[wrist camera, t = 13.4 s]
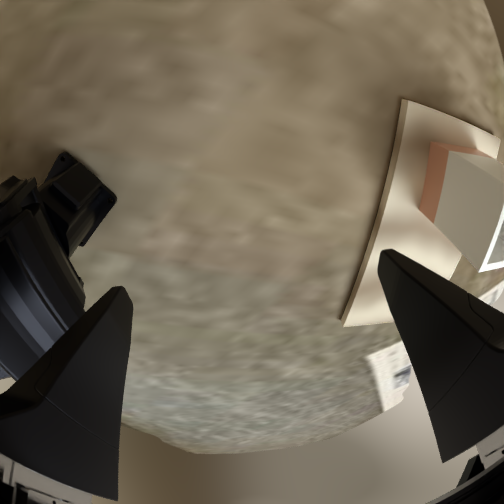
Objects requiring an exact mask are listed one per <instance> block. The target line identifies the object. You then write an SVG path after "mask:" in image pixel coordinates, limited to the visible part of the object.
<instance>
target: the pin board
mask: <svg viewBox="0 0 504 504" xmlns="http://www.w3.org/2000/svg"><path fill="white" fill-rule="evenodd" d="M431 141H432V142H439V143H445V144H451V145H457V146H463V147H468V148H473V149H478V150H480V151H482V152H483V153H485V154H487V155H489V156H491V157H493V158H494V159H496V158H497V154H498V150H499V145H500V141H501V139H499V138H497V137H495V136H493V135H491V134H489V133H487V132H485V131H483V130H481V129H479V128H477V127H475V126H473V125H471V124H469V123H466V122H464V121H462V120H460V119H457V118H455V117H452V116H450V115H448V114H445V113H443V112H440V111H437V110H435V109H432V108H429V107H427V106H424V105H421V104H418V103H415V102H412V101H409V100H405V99H402V101H401V108H400V114H399V120H398V126H397V131H396V137H395V142H394V147H393V152H392V156H391V161H390V165H389V170H388V174H387V178H386V182H385V186H384V190H383V194H382V198H381V202H380V206H379V209H378V213H377V216H376V220H375V223H374V227H373V230H372V233H371V237H370V240H369V243H368V246H367V249H366V252H365V256H364V259H363V262H362V264H361V267H360V270H359V273H358V276H357V279H356V282H355V284H354V287H353V290H352V293H351V295H350V298H349V301H348V303H347V306H346V308H345V311H344V314H343V316H342V319H341V322H342V325H343V327H347V326H359V325H369V324H379V323H388V322H395V321H394V319H393V317H392V315H391V312H390V309H389V307H388V304H387V301H386V297H385V294H384V291H383V288H382V285H381V283H380V280H379V277H378V273H377V268H378V262H379V256H380V252H381V251H382V250H384V249H394V250H396V251H398V252H399V253H401V254H403V255H405V256H407V257H409V258H410V259H412V260H414V261H416V262H418V263H419V264H421V265H423V266H425V267H426V268H428V269H430V270H432V271H433V272H435V273H437V274H439V275H440V276H442V277H444V278H445V279H447V280H450V278H451V276H452V274H453V272H454V270H455V268H456V266H457V264H458V262H459V260H460V258H461V256H462V253H461V252H460V251H459V250H458V249H457V248H456V246H455V245H454V244H453V243H452V242H451V241H450V240H449V239H448V238H447V237H446V236H445V235H444V234H443V233H442V232H441V231H440V230H439V229H438V228H437V227H436V226H435V225H434V224H433V223H432V222H431V221H430V220H429V219H428V218H427V217H426V216H425V215H424V214H423V213H422V212H420V211H419V207H420V202H421V197H422V192H423V187H424V182H425V176H426V170H427V164H428V158H429V151H430V143H431Z"/></svg>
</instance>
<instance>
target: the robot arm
mask: <svg viewBox="0 0 504 504" xmlns="http://www.w3.org/2000/svg"><path fill="white" fill-rule="evenodd" d="M63 156H64V157H65V160H64V159H63ZM36 185H37V182H36V179H35V177H33V178H31V179H28V180H27V179H24V180H19V179H18V178H16V177H15V176H14V175H13V176H12V177H10V178H8V179H7V180H5V181H4V182H2V183H1V184H0V380H1V379H5V378H9V377H12V378H13V379H14V380H15V381H16V382H15V383H14V384H13V385H12V386H11V387H10V388H9V389H8V390H7V391H5V392H4V393H2V394H0V504H91V500H92V495H96V496H99V497H103V498H106V499H110V500H114V501H118V463H119V450H118V449H119V439H120V425H121V414H122V404H123V395H124V386H125V378H126V371H127V364H128V358H129V351H130V344H131V330H132V317H133V304H132V301H131V299H130V297H129V295H128V293H127V291H126V289H125V288H124V287H123V286H115V287H112V288H111V289H110V290H109V291H108V292H107V293H105V294H104V295H103V296H102V297H101V298H100V299H99V300H98V301H97V302H96V303H95V304H94V305H93V306H92V307H91V308H90V309H89V310H87V311H86V312H85V310H84V309H83V308H84V304H85V297H86V296H85V293H84V289H83V285H84V283H83V281H82V279H81V277H79V276H78V275H77V273H76V271H75V269H74V267H73V265H72V264H71V262H70V260H69V259H70V257H71V256H72V254H73V253H74V251H75V250H76V248H77V247H78V246H84V245H85V244H86V242H87V241H88V240H89V238H90V237H91V235H92V234H93V233H94V231H95V230H96V228H97V227H98V226H99V224H100V223H101V222H102V220H103V219H104V218H105V216H106V215H107V214H108V212H109V211H110V210H111V208H112V207H113V206H114V205H115V203H116V202H117V197H116V195H115V194H114V193H112V192H111V191H110V190H109V189H108V188H107V187H105V186H104V185H103V184H102V183H101V181H100V180H99V179H98V178H97V177H96V176H95V175H94V174H92V173H91V172H90V171H89V170H88V169H87V168H86V167H85V166H83V165H82V164H81V163H79V162H77V161H76V160H75V159H74V158H73V157H72V156H71V155H70V154H69V153H67V152H63V153H61V154H60V155H59V156H58V158H57V160H56V161H55V163H54V165H53V167H52V169H51V170H50V172H49V174H48V176H47V178H46V180H45V182H44V184H42V185H41V186H40V187H39V188H37V186H36ZM109 198H111V199H112V200H113V202H111V201H110V200H109ZM82 241H83V242H82ZM377 273H378V277H379V280H380V283H381V285H382V288H383V291H384V294H385V297H386V301H387V304H388V307H389V309H390V312H391V315H392V317H393V319H394V321H395V324H396V326H397V329H398V331H399V333H400V336H401V338H402V341H403V343H404V345H405V348H406V351H407V353H408V356H409V358H410V361H411V363H412V366H413V369H414V371H415V374H416V377H417V380H418V382H419V385H420V388H421V391H422V394H423V397H424V400H425V403H426V406H427V409H428V412H429V416H430V420H431V423H432V426H433V430H434V434H435V437H436V440H437V445H438V448H439V452H440V456H441V460H442V463H444V462H446V461H448V460H450V459H452V458H454V457H456V456H457V455H459V454H461V453H463V452H465V451H466V450H468V449H470V448H471V447H473V446H475V445H476V446H477V450H478V452H479V454H477V455H476V456H474V457H473V458H471V459H469V460H468V463H467V465H466V467H465V470H464V472H463V474H462V477H461V479H460V481H459V483H458V485H457V487H456V488H455V489H453V490H451V491H450V492H448V493H446V494H444V495H442V496H440V497H439V498H436V499H434V500H432V501H430V502H428V503H426V504H504V313H502V312H500V311H498V310H497V309H495V308H493V307H491V306H490V305H488V304H486V303H485V302H483V301H481V300H480V299H478V298H476V297H475V296H473V295H472V294H470V293H467V291H465V290H464V289H462V288H460V287H459V286H457V285H455V284H454V283H452V282H450V281H449V280H447V279H445V278H444V277H442V276H440V275H439V274H437V273H435V272H433V271H432V270H430V269H428V268H426V267H425V266H423V265H421V264H419V263H418V262H416V261H414V260H412V259H410V258H409V257H407V256H405V255H403V254H401V253H399V252H398V251H396V250H394V249H384V250H382V251H381V252H380V256H379V262H378V268H377Z"/></svg>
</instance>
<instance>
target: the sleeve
mask: <svg viewBox="0 0 504 504" xmlns="http://www.w3.org/2000/svg"><path fill="white" fill-rule="evenodd" d="M419 211H420V212H422V213H423V214H424V215H425V216H426V217H427V218H428V219H429V220H430V221H431V222H432V223H433V224H434V225H435V226H436V227H437V228H438V229H439V230H440V231H441V232H442V233H443V234H444V235H445V236H446V237H447V238H448V239H449V240H450V241H451V242H452V243H453V244H454V245H455V246H456V248H457V249H458V250H459V251H460V252H461V253H462V254H463V255H464V256H465V257H466V258H467V260H468V261H469V262H470V263H471V264H472V265H473V266H474V268H475V269H476V270H477V271H478V272H483V271H488V270H492V269H496V268H501V267H504V164H503V163H501V162H500V161H498V160H496V159H494V158H493V157H491V156H489V155H487V154H485V153H483V152H482V151H480V150H478V149H473V148H468V147H463V146H457V145H451V144H445V143H439V142H432V141H431V143H430V151H429V158H428V164H427V170H426V176H425V182H424V187H423V192H422V197H421V202H420V207H419Z"/></svg>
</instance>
